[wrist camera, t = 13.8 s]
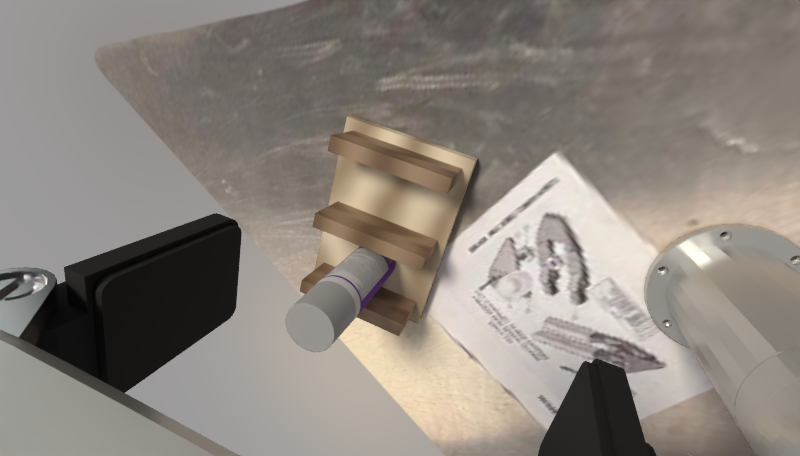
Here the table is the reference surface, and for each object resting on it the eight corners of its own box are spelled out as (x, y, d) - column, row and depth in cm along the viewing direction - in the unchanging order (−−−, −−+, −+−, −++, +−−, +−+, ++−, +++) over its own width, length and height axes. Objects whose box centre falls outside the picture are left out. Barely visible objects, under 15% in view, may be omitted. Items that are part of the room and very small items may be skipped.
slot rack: (477, 158, 40) (467, 170, 34) (421, 316, 48) (404, 348, 42) (353, 115, 42) (323, 119, 37) (319, 272, 50) (290, 296, 44)
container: (375, 284, 46) (308, 362, 33) (350, 252, 46) (273, 317, 33) (405, 264, 44) (346, 339, 31) (379, 231, 44) (309, 291, 31)
